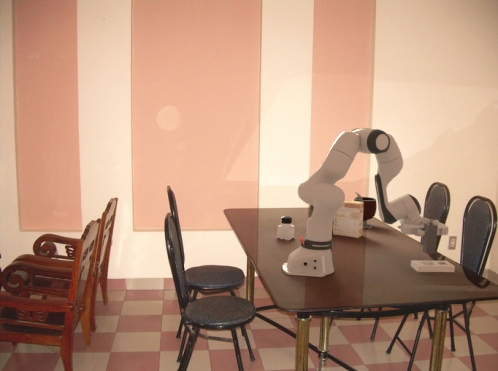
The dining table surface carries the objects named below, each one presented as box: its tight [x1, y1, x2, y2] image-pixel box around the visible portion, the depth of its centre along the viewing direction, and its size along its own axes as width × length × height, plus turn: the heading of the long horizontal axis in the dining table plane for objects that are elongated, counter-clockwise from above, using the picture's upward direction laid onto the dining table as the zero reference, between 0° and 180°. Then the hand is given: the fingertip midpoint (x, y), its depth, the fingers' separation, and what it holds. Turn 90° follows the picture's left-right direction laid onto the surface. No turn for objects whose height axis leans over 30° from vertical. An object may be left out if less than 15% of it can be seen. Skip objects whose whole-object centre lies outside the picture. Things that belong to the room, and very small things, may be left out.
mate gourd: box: [353, 191, 378, 229], centre depth 295 cm, size 16×14×20 cm
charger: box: [422, 218, 438, 255], centre depth 208 cm, size 4×5×14 cm
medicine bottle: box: [276, 215, 296, 241], centre depth 263 cm, size 7×7×12 cm
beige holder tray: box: [410, 260, 456, 273], centre depth 210 cm, size 16×8×4 cm, turn 92°
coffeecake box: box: [332, 199, 364, 239], centre depth 272 cm, size 15×7×20 cm, turn 59°
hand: (431, 233), depth 207 cm, fingers closed on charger, 4 cm apart
